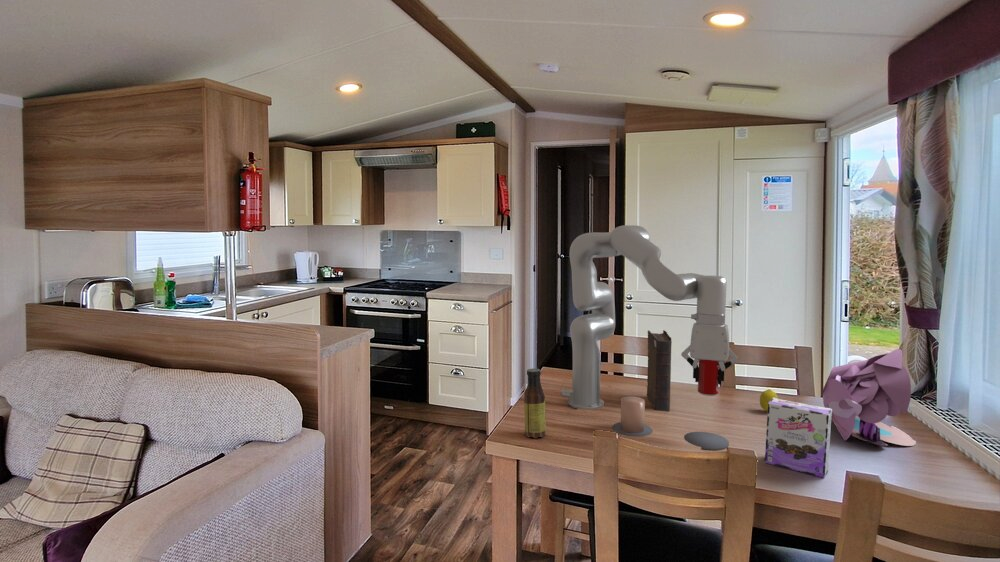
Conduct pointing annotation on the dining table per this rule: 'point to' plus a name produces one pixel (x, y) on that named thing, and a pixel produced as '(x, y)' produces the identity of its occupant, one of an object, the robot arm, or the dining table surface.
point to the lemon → (767, 398)
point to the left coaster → (646, 432)
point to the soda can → (708, 377)
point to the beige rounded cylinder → (632, 414)
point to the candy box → (798, 436)
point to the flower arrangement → (869, 398)
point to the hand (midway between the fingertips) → (708, 381)
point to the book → (659, 370)
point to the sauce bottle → (534, 405)
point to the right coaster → (707, 440)
